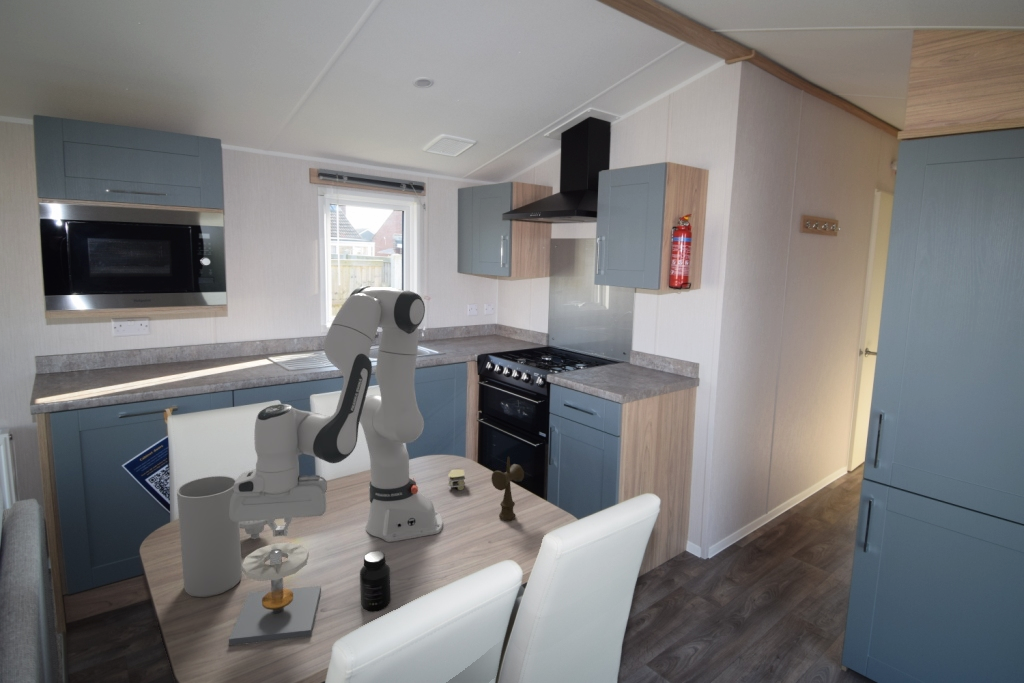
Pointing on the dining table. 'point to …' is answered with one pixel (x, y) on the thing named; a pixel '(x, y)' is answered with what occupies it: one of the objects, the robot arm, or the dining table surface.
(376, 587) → the supplement bottle
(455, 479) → the beige blocky piece
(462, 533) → the dining table surface
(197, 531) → the cylinder vase
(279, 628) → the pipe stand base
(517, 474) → the kendama
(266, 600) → the silver and orange rod
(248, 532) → the showerhead
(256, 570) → the silicone ring
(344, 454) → the robot arm
